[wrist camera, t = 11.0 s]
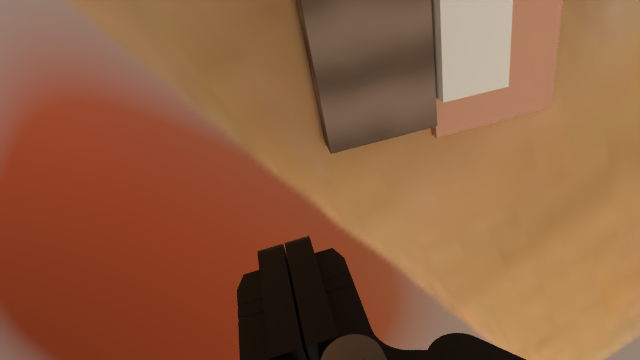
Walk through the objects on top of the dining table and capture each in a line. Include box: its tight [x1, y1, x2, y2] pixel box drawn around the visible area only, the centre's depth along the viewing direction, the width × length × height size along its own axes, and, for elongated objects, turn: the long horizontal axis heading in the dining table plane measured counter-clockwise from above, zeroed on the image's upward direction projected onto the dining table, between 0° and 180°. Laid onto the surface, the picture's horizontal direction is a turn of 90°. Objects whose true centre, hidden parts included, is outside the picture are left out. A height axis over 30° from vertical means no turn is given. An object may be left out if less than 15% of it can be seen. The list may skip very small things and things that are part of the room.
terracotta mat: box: [432, 0, 563, 138], centre depth 37 cm, size 18×12×1 cm, turn 11°
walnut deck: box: [297, 0, 437, 154], centre depth 35 cm, size 14×10×2 cm
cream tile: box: [431, 0, 513, 103], centre depth 35 cm, size 9×6×2 cm, turn 11°
